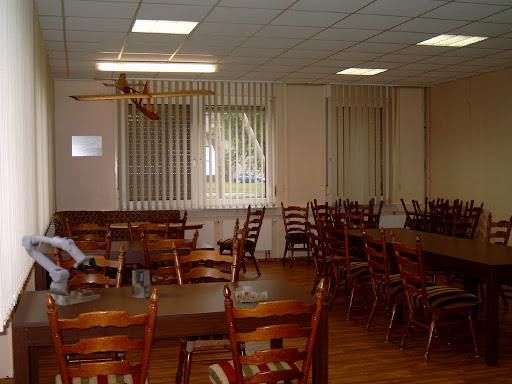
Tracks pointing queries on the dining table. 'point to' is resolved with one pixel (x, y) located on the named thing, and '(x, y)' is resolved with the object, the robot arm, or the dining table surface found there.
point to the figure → (249, 294)
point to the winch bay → (68, 297)
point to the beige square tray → (81, 293)
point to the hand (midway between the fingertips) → (93, 271)
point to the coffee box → (140, 283)
